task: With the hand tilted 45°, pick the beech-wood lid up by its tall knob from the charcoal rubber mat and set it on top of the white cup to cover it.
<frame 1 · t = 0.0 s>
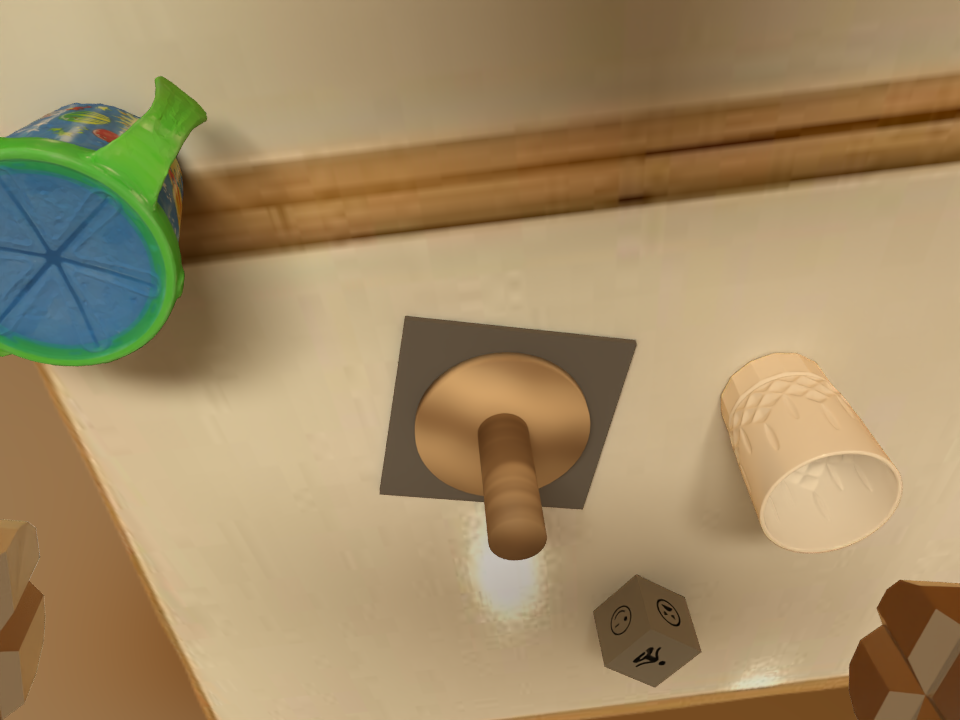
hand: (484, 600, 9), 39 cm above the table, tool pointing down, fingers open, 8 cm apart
dice cube: (638, 601, 70), on the table
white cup: (770, 391, 58), on the table
snack cup: (111, 167, 47), on the table
lid: (501, 422, 58), resting on mat
mat: (501, 418, 58), on the table
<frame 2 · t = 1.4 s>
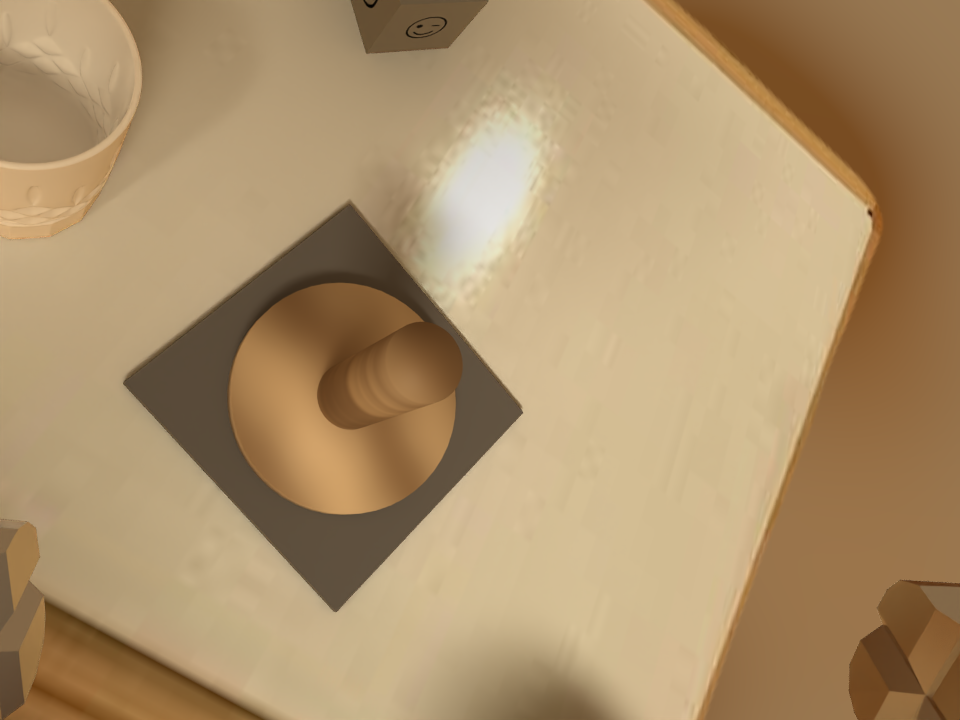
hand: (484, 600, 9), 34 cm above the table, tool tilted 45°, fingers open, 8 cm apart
dice cube: (393, 10, 50), on the table
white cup: (18, 167, 40), on the table
lid: (343, 398, 44), resting on mat
mat: (340, 400, 44), on the table
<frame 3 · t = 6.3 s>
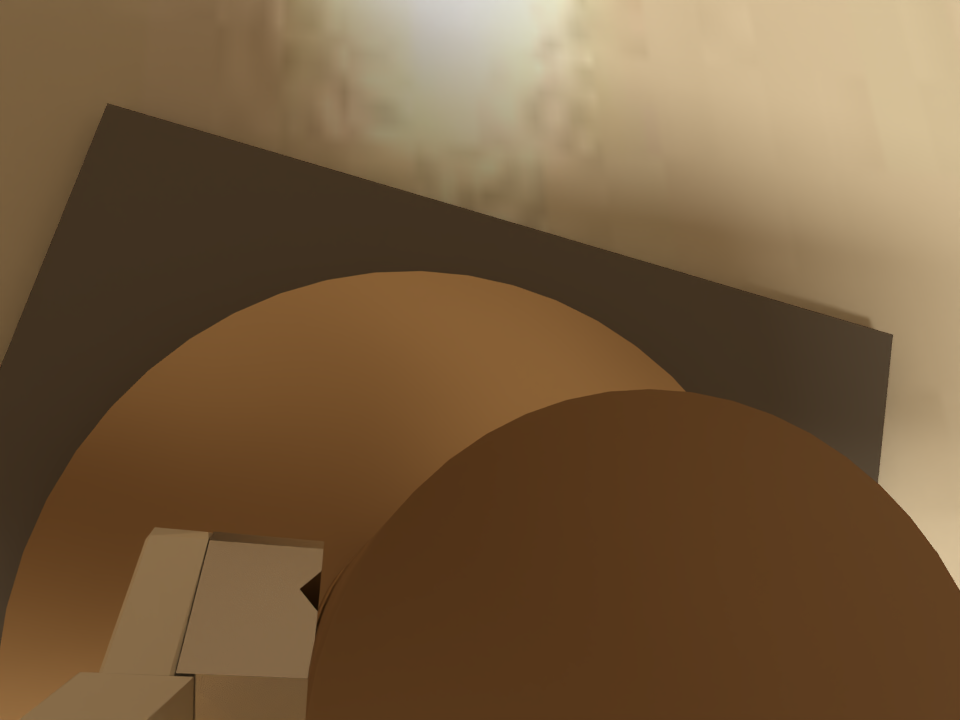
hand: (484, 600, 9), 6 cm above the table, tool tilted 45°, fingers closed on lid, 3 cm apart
lid: (419, 644, 13), resting on mat, touching gripper
mat: (415, 642, 14), on the table
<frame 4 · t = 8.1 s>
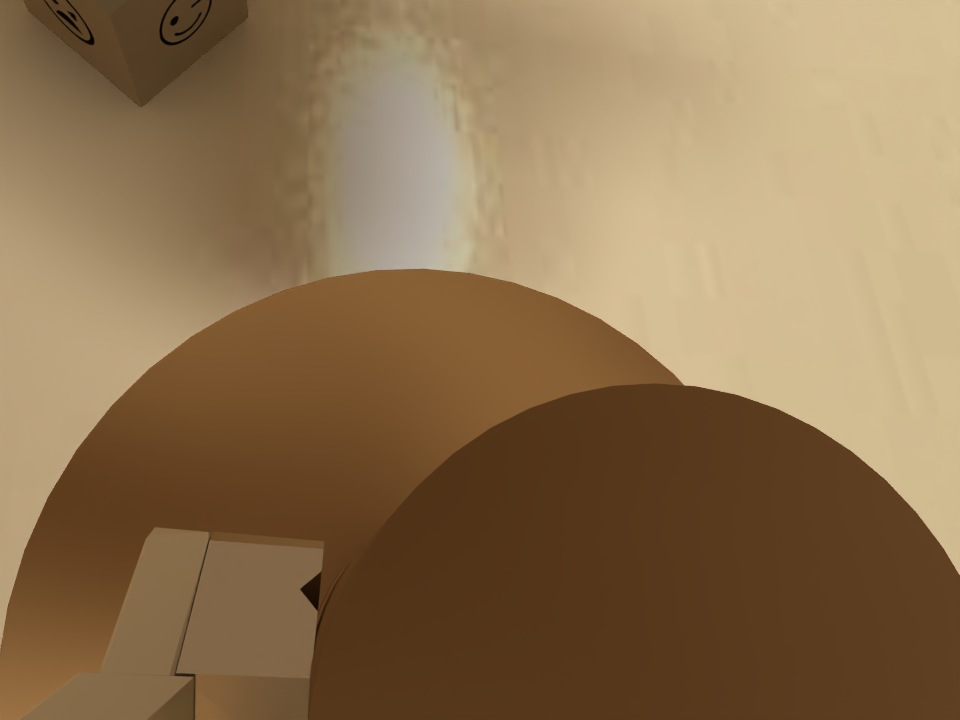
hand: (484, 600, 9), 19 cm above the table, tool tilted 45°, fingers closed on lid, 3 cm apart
dice cube: (142, 18, 31), on the table
lid: (421, 642, 13), point 14 cm above the table, touching gripper
when the fingers open (17 cm above the table, at t = 10.2 s): lid drops 2 cm, resting on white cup.
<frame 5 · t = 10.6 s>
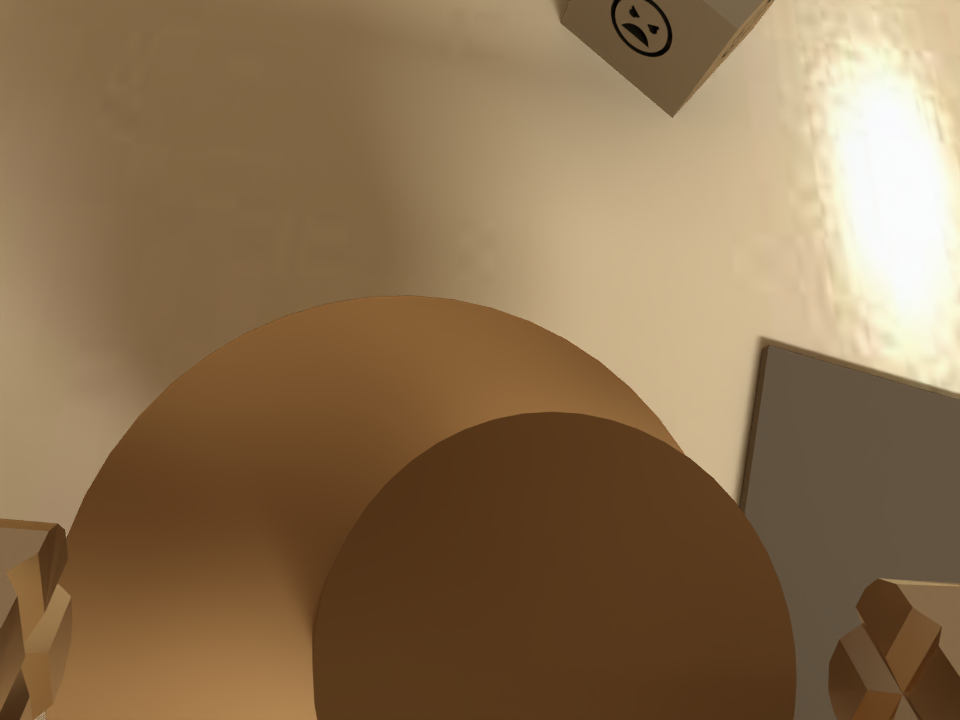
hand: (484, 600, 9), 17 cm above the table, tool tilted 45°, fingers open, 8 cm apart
dice cube: (655, 30, 32), on the table
lid: (408, 623, 15), point 10 cm above the table, touching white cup
mat: (943, 621, 28), on the table
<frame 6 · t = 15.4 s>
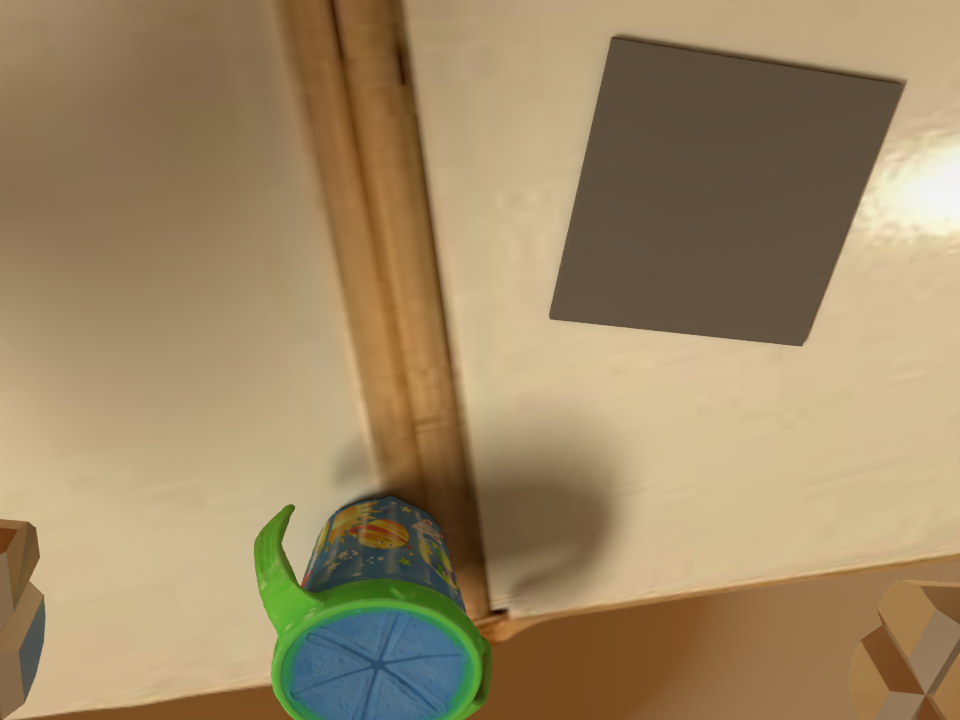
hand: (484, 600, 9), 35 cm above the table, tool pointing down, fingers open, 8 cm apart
snack cup: (380, 539, 54), on the table
mat: (714, 205, 45), on the table
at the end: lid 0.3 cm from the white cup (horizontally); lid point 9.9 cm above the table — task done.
